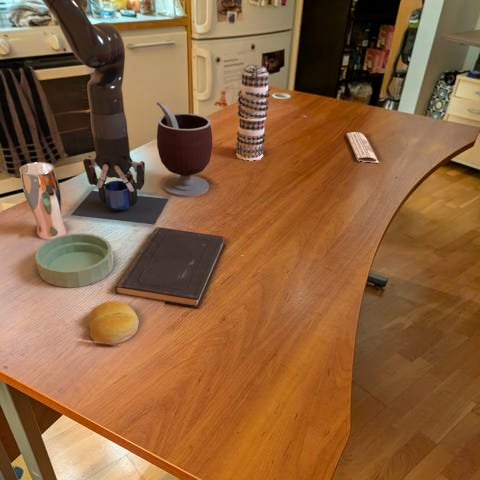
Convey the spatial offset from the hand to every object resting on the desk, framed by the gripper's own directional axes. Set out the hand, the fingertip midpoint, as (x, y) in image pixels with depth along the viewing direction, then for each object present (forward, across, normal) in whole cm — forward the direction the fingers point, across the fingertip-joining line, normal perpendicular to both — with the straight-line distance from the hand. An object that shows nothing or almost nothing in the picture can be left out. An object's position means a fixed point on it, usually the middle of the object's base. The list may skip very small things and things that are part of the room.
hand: (119, 202), depth 111 cm
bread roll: (+2, -13, +42) cm, 44 cm away
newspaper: (+2, -63, -60) cm, 87 cm away
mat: (+2, 0, 0) cm, 2 cm away
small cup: (0, 0, 0) cm, 0 cm away
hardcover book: (+2, -19, +22) cm, 29 cm away
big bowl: (+2, 0, +26) cm, 26 cm away
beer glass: (+2, +10, +14) cm, 18 cm away
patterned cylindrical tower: (+2, -27, -44) cm, 52 cm away
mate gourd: (+2, -12, -17) cm, 21 cm away
